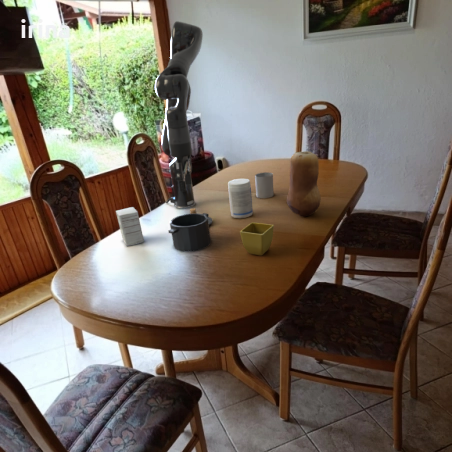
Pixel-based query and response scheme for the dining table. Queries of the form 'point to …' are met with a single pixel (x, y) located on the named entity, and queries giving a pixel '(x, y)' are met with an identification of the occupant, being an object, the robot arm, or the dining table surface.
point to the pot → (190, 232)
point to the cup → (264, 185)
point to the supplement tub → (240, 198)
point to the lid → (196, 212)
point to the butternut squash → (304, 184)
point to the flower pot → (257, 237)
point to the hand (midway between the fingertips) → (186, 187)
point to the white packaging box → (130, 226)
